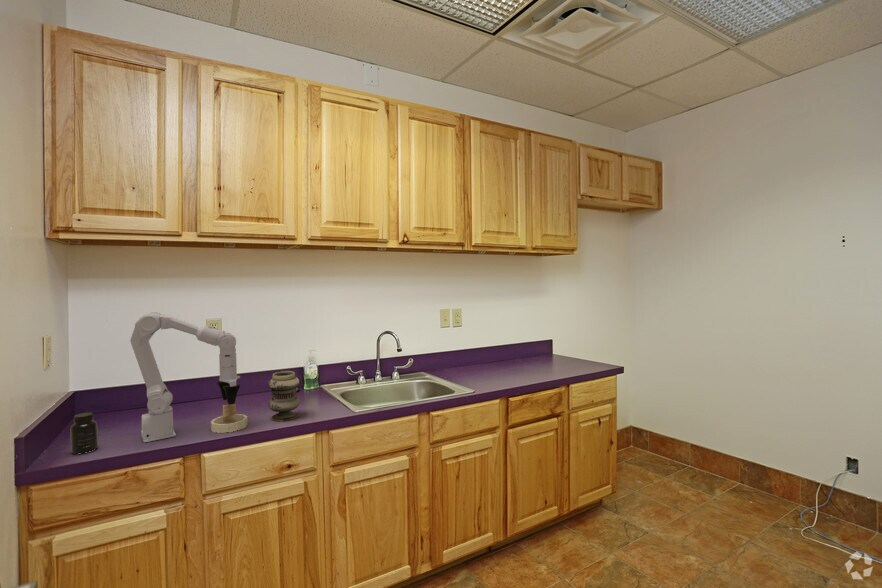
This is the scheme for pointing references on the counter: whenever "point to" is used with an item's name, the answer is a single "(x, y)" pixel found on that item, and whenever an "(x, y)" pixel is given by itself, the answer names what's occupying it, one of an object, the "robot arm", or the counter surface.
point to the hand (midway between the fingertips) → (228, 401)
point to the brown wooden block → (229, 413)
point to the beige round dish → (229, 424)
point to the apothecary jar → (284, 395)
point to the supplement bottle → (84, 433)
